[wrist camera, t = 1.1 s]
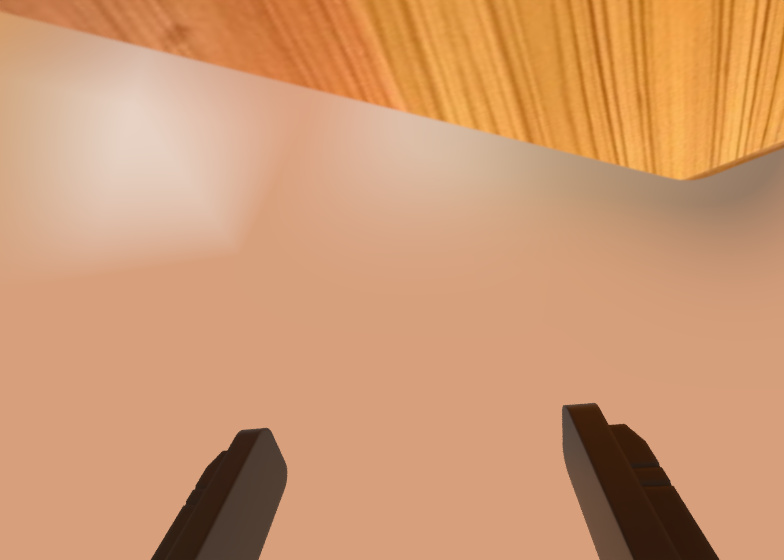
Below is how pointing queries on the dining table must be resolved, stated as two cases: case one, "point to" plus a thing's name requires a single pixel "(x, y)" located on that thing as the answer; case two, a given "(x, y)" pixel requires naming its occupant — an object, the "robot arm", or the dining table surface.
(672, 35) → the dining table surface
